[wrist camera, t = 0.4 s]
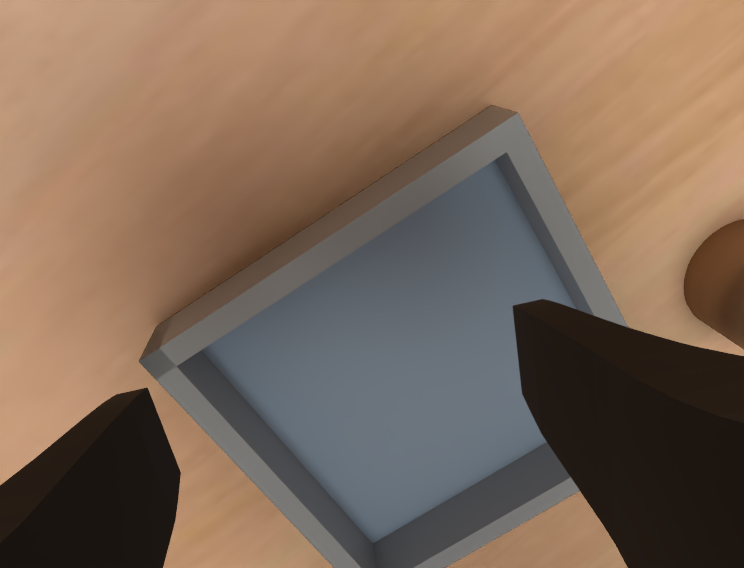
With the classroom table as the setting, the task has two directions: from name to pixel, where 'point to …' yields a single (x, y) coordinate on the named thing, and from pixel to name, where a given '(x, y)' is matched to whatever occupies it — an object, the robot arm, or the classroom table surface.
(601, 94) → the classroom table surface
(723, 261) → the walnut post
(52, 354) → the classroom table surface
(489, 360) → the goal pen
